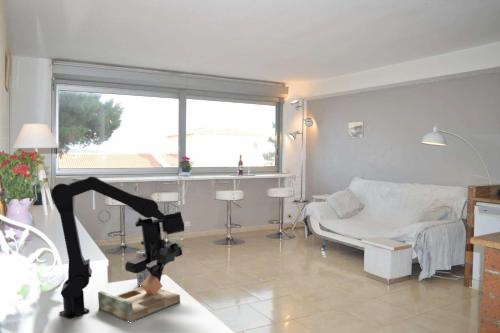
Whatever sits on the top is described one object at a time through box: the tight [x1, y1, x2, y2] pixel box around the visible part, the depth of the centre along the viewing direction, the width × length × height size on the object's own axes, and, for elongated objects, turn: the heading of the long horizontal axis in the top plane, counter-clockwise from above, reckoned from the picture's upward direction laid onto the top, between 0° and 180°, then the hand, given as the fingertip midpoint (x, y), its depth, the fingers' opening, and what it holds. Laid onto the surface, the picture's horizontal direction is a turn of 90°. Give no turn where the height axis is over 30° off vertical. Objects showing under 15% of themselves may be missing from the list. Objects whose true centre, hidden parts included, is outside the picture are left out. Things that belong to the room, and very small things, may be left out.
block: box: [140, 275, 163, 295], centre depth 126 cm, size 4×4×4 cm
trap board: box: [97, 286, 181, 323], centre depth 123 cm, size 17×18×5 cm
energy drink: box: [135, 249, 152, 286], centre depth 143 cm, size 5×5×12 cm
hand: (158, 283), depth 128 cm, fingers closed, pressing on block
